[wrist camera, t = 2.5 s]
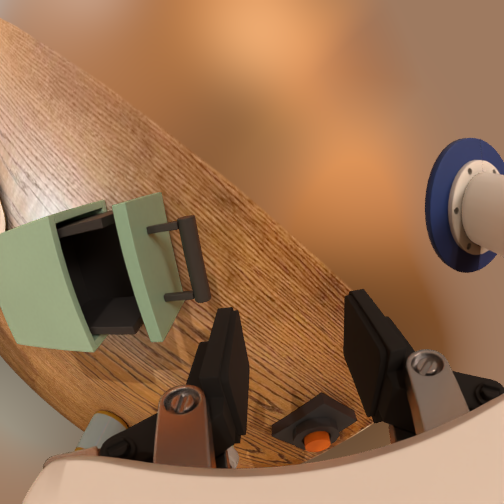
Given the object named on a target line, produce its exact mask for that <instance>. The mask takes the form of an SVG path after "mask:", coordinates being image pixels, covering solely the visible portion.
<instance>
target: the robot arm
mask: <svg viewBox="0 0 504 504" xmlns="http://www.w3.org/2000/svg"><path fill="white" fill-rule="evenodd" d="M448 218H449V225H450V230H451V233H452V236H453V238H454V240H455V242H456V243H457V245H458V246H459V247H460V248H461V249H462V250H464V251H466V252H467V253H470V254H472V255H480V254H483V253H485V252H487V251H488V250H490V251H492V252H494V253H496V254H498V255H500V256H502V257H504V175H501V174H500V173H499V172H498V170H497V169H496V168H495V167H494V166H493V165H492V164H491V163H489V162H487V161H483V160H473V161H469V162H468V163H466V164H464V166H463V167H462V168H461V169H460V170H459V171H458V173H457V175H456V176H455V179H454V181H453V183H452V187H451V190H450V195H449V201H448ZM343 352H344V357H345V360H346V363H347V365H348V368H349V370H350V373H351V375H352V378H353V381H354V383H355V386H356V388H357V391H358V394H359V396H360V399H361V402H362V404H363V407H364V410H365V413H366V415H367V417H370V416H372V419H373V421H374V423H378V422H381V421H383V422H385V423H388V424H389V433H390V441H391V444H390V445H387V446H383V447H380V448H377V449H373V450H369V451H366V452H362V453H358V454H354V455H349V456H345V457H340V458H335V459H330V460H324V461H318V462H312V463H305V464H298V465H289V466H279V467H266V468H244V469H231V468H230V462H229V456H228V451H227V449H228V448H230V447H231V446H233V445H234V443H240V438H241V435H246V427H247V408H248V390H249V361H248V357H247V352H246V347H245V342H244V337H243V332H242V326H241V321H240V316H239V312H238V310H235V311H234V310H233V308H232V307H229V308H219V309H218V310H217V313H216V317H215V320H214V324H213V328H212V331H211V335H210V338H209V341H207V342H200V344H199V346H198V349H197V352H196V355H195V358H194V361H193V364H192V368H191V371H190V374H189V377H188V380H187V383H186V385H179V386H175V387H173V388H171V389H169V390H167V391H166V392H165V393H164V394H163V395H162V396H161V398H160V401H159V405H158V413H156V414H155V415H153V416H151V417H149V418H147V419H145V420H143V421H141V422H139V423H137V424H136V425H134V426H132V427H130V428H128V429H126V430H124V431H122V432H120V433H117V434H115V435H113V436H111V437H110V438H108V439H107V440H106V441H105V442H104V443H103V444H102V446H101V448H99V449H98V448H97V446H93V447H90V448H86V449H81V450H77V451H73V452H68V453H63V454H58V455H54V456H51V457H49V458H48V459H47V460H46V461H45V463H44V465H43V470H42V472H41V473H40V474H39V475H38V477H37V478H36V480H35V481H34V483H33V484H32V486H31V488H30V489H29V491H28V493H27V495H26V497H25V499H24V501H23V503H22V504H504V387H503V386H502V385H501V384H500V383H498V382H497V381H493V380H491V379H486V378H481V377H476V376H472V375H467V374H462V373H459V372H454V371H452V369H451V367H450V365H449V363H448V361H447V359H446V358H445V357H444V356H443V355H442V354H441V353H439V352H437V351H434V350H428V349H427V350H419V351H416V352H415V351H414V350H413V348H412V347H411V345H410V344H409V343H408V341H407V340H406V339H405V337H404V336H403V335H402V333H401V332H400V331H399V329H398V328H397V327H396V325H395V324H394V323H393V322H392V320H391V319H390V318H389V317H385V316H384V315H383V313H382V312H381V311H380V309H379V308H378V307H377V306H376V304H375V303H374V302H373V300H372V299H371V298H370V297H369V295H368V294H367V293H366V292H365V290H364V289H361V290H355V291H350V292H349V295H347V296H345V306H344V347H343Z"/></svg>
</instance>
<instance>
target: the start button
mask: <svg viewBox="0 0 504 504" xmlns="http://www.w3.org/2000/svg"><path fill="white" fill-rule="evenodd" d="M304 444H305V449H306V450H307V451H309V452H318V451H322V450H325V449H326V448H328V447H329V446H330V444H331V443H330V438H329V434H328V432H326V431H317V432H313V433H310V434H308V435H306V436H305V437H304Z"/></svg>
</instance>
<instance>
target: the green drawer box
mask: <svg viewBox="0 0 504 504" xmlns="http://www.w3.org/2000/svg"><path fill="white" fill-rule="evenodd" d="M104 212H107V209H106V204H105V200H101V201H97V202H93V203H90V204H86V205H83V206H79V207H76V208H72V209H69V210H66V211H62V212H59V213H56V214H53V215H50V216H46V217H44V218H41V219H38V220H35V221H32V222H29V223H27V224H24V225H21V226H18V227H16V228H13V229H11V230H8V231H6V232H3V233H1V234H0V307H1V309H2V312H3V314H4V316H5V319H6V321H7V323H8V326H9V328H10V330H11V332H12V334H13V336H14V338H15V340H16V343H17V344H21V345H28V346H35V347H42V348H50V349H59V350H70V351H81V352H95V351H96V349H97V348H98V347H99V346H100V344H101V343H102V342H103V341H104V339H105V338H106V337H107V336H108V334H91V332H90V330H89V327H88V325H87V322H86V320H85V318H84V315H83V313H82V310H81V307H80V305H79V302H78V299H77V297H76V294H75V291H74V288H73V285H72V282H71V279H70V276H69V273H68V270H67V266H66V263H65V260H64V256H63V252H62V249H61V245H60V241H59V237H58V233H57V229H56V226H58V225H61V224H64V223H66V222H70V221H73V220H77V219H80V218H84V217H88V216H92V215H96V214H100V213H104Z"/></svg>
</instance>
